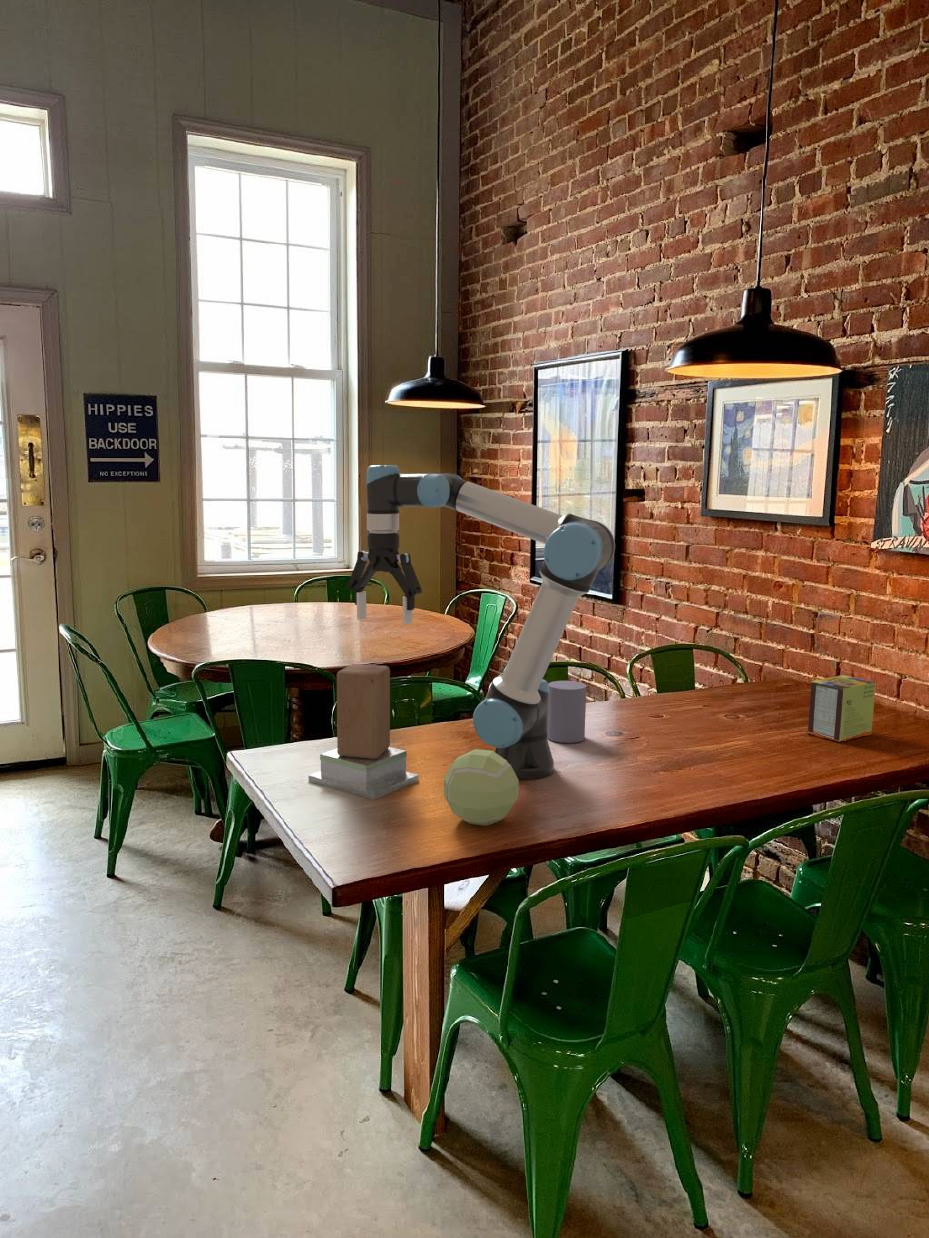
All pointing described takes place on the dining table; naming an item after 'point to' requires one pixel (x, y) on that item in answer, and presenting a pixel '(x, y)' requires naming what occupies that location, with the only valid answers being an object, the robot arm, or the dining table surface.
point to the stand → (364, 773)
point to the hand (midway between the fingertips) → (384, 621)
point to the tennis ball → (481, 787)
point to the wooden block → (363, 711)
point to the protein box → (841, 707)
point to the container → (566, 711)
